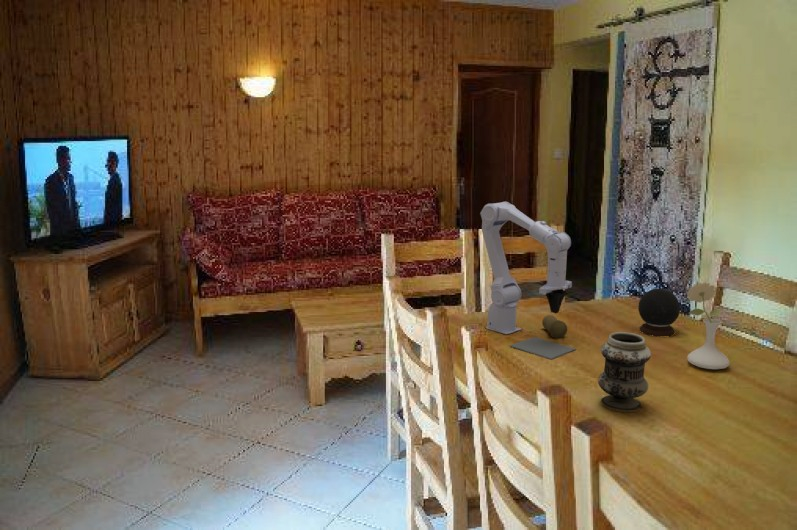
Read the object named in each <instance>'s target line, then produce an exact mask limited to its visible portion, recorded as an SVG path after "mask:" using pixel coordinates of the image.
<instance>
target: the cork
mask: <svg viewBox="0 0 797 530" xmlns="http://www.w3.org/2000/svg"><path fill="white" fill-rule="evenodd" d="M541 324H542V326H543V328H544V329H545V330H546V331H548V332H549V334H550V336H551V337H552V338H554V339H562V338H563V337H565V336H566V335H567V332H568V326H567V324H566V323H565V322H564V321H562V320H559V319H557V317H556V316H555V315H551V314H549V315H546V316H544V317H543V318H542V323H541Z"/></svg>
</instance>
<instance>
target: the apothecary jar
mask: <svg viewBox="0 0 797 530" xmlns="http://www.w3.org/2000/svg"><path fill="white" fill-rule="evenodd" d="M600 352H601V355H602V356H603V357H604V358H605V359H604V368H603V372H601V373H600V375H599V376H598V378H597V383H598V386H599V388H600V389H601V390H602V391H603V392H605V393H606V394H608V395H605V396H603V397H602V398H601V400H600V403H601V404H602V406H603V407H605V408H606V409H609V410H611V411H614V412H615V411H616V412H619V413H634V412H639V411H640V409H641V408H643V405H642V403H641V402H640V401H639V400H638V399H636V398H639V397H641V396H643V395H645V394H646V393H647V391H648V390H649V383H648V380H647V379H646V378H645V365H646V363H647V362H648V361H650V359H651V356H652V352H651V350H650V348H649V347H648V346H646V339H645V337H643V336H642V335H641V334H637V333H635V332H633V333H632V332H625V331H617V332H613V333H610V334H609V335H608V340H607V341H605V342H604V343H603V344H602V345H601V348H600Z"/></svg>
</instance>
